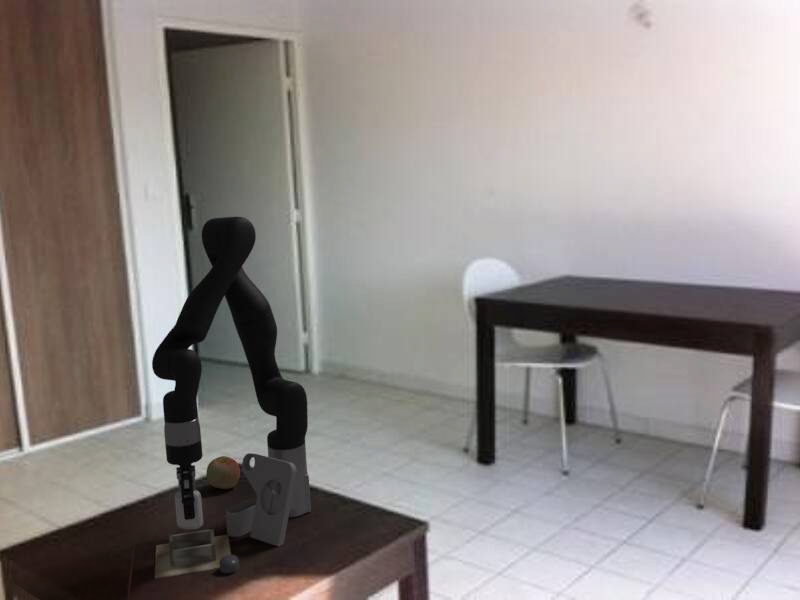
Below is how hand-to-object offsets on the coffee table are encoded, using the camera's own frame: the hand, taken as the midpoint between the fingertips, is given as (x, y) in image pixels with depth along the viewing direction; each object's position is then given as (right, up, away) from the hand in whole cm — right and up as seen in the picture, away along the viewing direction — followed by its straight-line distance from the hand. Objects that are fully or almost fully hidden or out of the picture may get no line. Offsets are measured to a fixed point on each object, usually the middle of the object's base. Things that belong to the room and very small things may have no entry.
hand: (189, 513), depth 181 cm
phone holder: (+14, -9, +11) cm, 20 cm away
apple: (-1, -4, +43) cm, 43 cm away
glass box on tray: (0, -10, +2) cm, 10 cm away
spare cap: (+10, -10, -5) cm, 15 cm away
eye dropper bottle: (0, -3, 0) cm, 3 cm away
